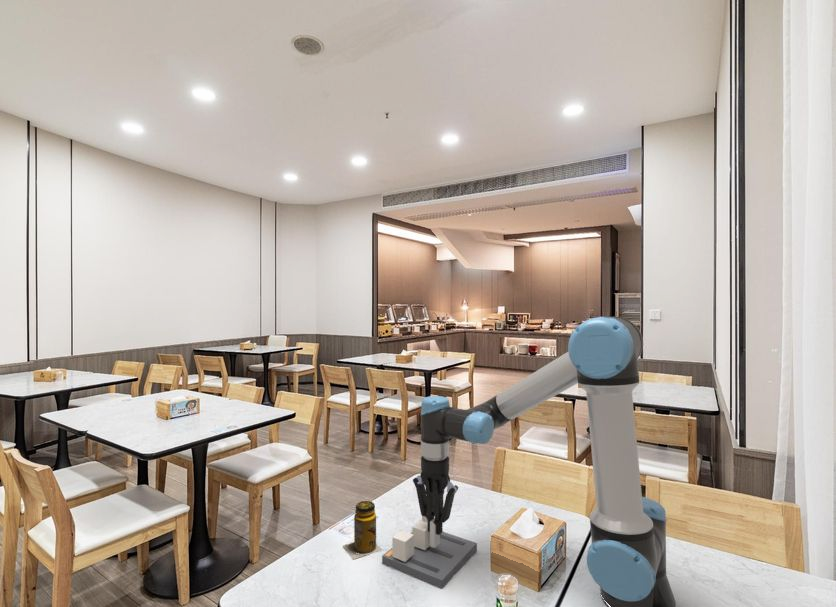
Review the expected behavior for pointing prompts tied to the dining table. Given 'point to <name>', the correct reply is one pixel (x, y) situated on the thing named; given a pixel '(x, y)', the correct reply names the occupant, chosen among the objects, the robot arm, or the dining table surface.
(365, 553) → the condiment
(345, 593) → the dining table surface
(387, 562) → the grey slotted panel board
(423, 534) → the block
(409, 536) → the block
